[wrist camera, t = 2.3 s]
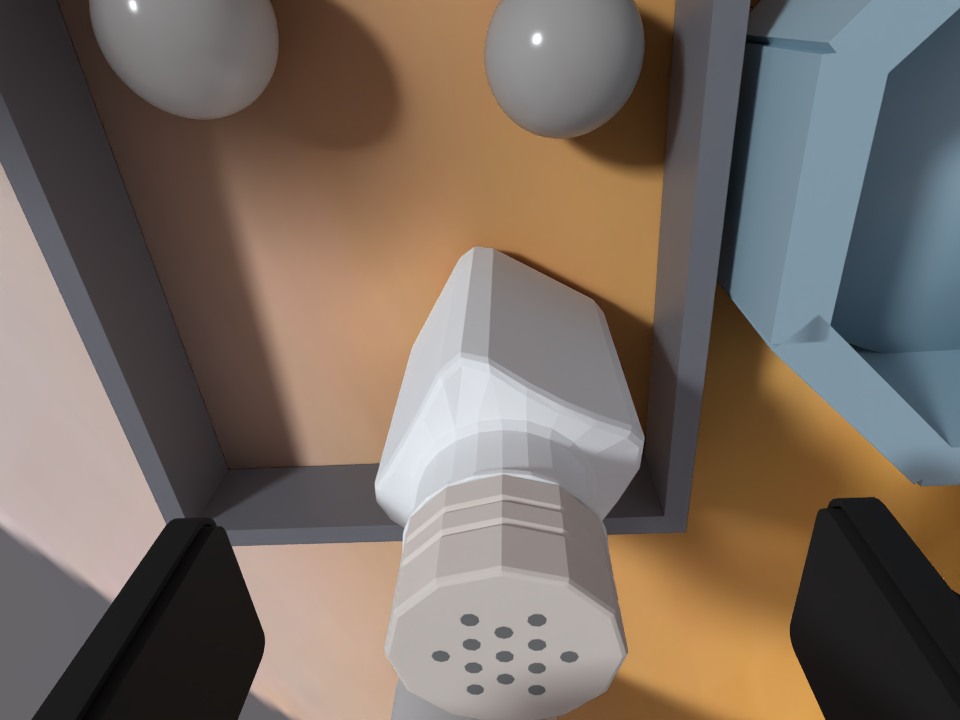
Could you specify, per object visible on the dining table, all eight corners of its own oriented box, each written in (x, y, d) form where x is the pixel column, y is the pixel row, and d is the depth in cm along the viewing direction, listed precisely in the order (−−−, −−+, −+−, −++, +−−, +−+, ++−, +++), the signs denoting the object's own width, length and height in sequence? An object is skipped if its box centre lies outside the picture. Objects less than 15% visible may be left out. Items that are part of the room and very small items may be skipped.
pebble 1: (124, -58, 12) (11, -78, 9) (279, -74, 12) (210, -99, 9) (176, 113, 14) (92, 139, 11) (313, 101, 14) (264, 125, 11)
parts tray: (-37, -167, 11) (-170, -211, 9) (728, -259, 10) (791, -334, 8) (215, 485, 19) (177, 547, 17) (663, 468, 18) (686, 532, 16)
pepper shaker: (532, 412, 18) (557, 769, 9) (405, 354, 17) (309, 688, 8) (610, 300, 16) (726, 619, 7) (472, 228, 15) (431, 499, 7)
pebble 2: (481, -27, 12) (474, -37, 10) (632, -42, 12) (667, -56, 9) (491, 130, 14) (488, 159, 11) (625, 120, 13) (655, 146, 11)
